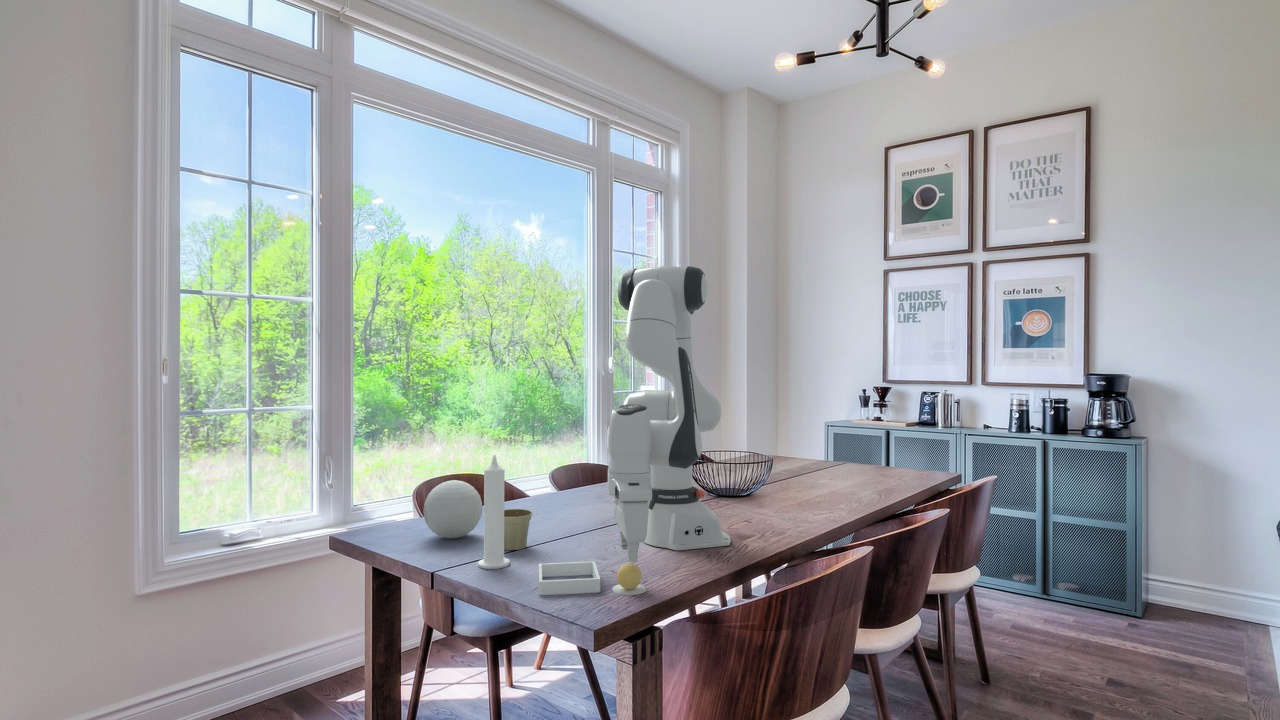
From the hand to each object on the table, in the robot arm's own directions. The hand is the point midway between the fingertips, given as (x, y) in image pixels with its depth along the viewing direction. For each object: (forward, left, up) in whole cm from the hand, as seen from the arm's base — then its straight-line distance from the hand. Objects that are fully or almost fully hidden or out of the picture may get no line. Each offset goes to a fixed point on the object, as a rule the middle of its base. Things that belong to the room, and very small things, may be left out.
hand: (628, 554), depth 134 cm
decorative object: (+40, -49, -8) cm, 63 cm away
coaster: (0, -1, -7) cm, 7 cm away
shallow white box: (+12, -6, -7) cm, 15 cm away
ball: (0, -1, -7) cm, 7 cm away
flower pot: (+24, -37, -8) cm, 44 cm away
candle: (+28, -23, -8) cm, 37 cm away
